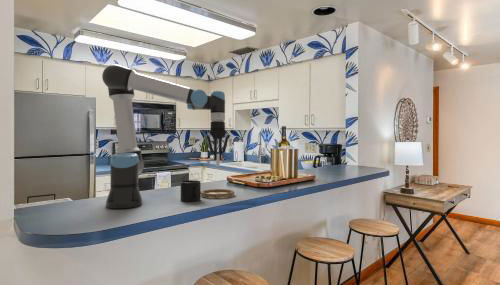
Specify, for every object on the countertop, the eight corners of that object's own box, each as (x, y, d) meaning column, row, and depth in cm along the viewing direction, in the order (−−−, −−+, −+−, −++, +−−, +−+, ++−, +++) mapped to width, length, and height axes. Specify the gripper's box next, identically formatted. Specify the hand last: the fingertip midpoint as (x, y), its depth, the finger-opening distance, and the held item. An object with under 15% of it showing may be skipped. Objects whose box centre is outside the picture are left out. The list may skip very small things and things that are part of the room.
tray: (203, 199, 150) (203, 194, 150) (199, 193, 166) (199, 189, 166) (237, 197, 155) (237, 193, 155) (230, 192, 171) (230, 188, 171)
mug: (186, 203, 139) (186, 183, 139) (177, 199, 149) (177, 181, 149) (205, 201, 144) (206, 182, 144) (196, 197, 154) (196, 179, 154)
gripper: (206, 120, 155) (206, 167, 155) (231, 121, 159) (231, 166, 159) (204, 121, 162) (204, 166, 162) (228, 122, 166) (228, 165, 166)
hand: (217, 166), depth 161 cm, fingers closed
